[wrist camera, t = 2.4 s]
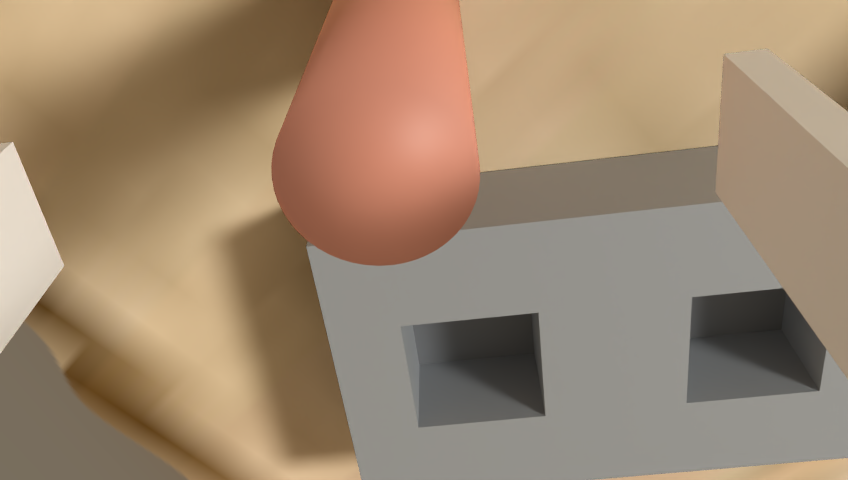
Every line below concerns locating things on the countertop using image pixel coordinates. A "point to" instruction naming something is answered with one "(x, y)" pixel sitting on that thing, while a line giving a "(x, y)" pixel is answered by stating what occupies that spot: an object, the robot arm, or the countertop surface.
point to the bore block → (581, 336)
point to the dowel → (381, 133)
